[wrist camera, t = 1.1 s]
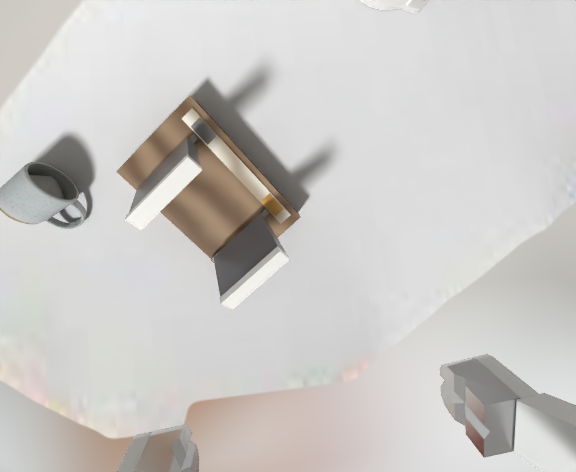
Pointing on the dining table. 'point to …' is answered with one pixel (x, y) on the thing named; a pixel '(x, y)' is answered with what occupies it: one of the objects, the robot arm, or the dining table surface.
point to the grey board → (248, 262)
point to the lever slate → (164, 184)
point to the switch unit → (210, 182)
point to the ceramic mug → (40, 196)
